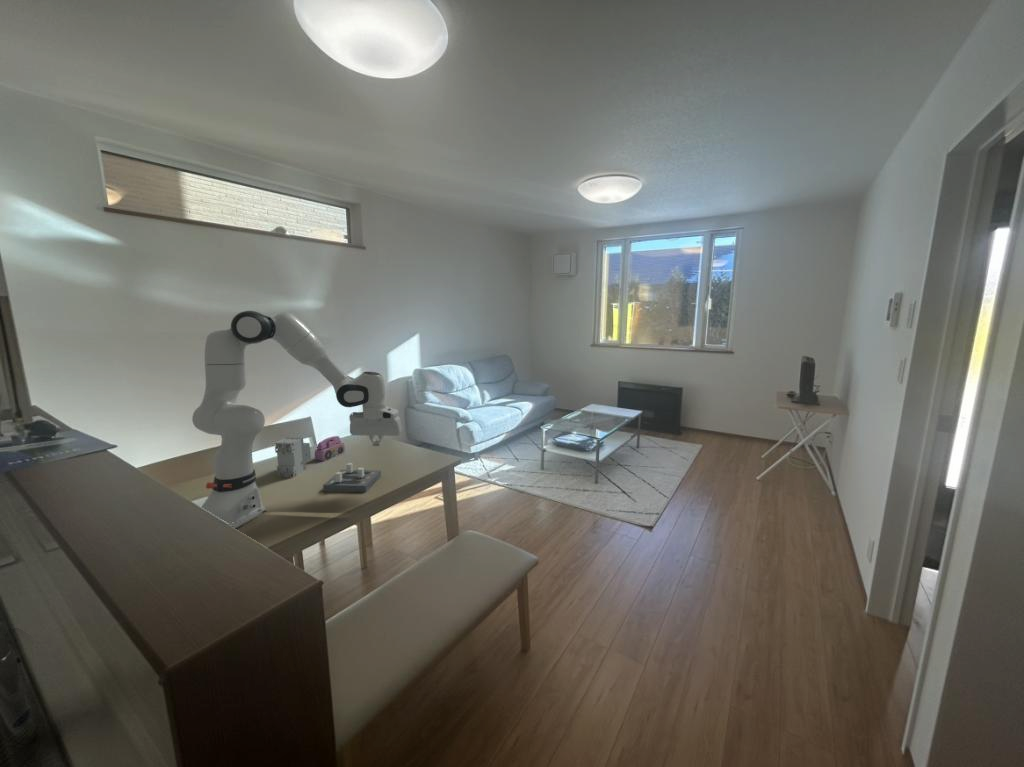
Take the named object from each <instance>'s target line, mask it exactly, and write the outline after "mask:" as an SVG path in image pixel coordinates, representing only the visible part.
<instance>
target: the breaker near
mask: <svg viewBox="0 0 1024 767" xmlns="http://www.w3.org/2000/svg"><path fill="white" fill-rule="evenodd" d="M334 476H335V480H336V482H341V481H342V472H340V471H336V472H335V473H334Z"/></svg>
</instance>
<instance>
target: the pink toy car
mask: <svg viewBox="0 0 1024 767" xmlns="http://www.w3.org/2000/svg"><path fill="white" fill-rule="evenodd" d="M345 448H346V446H345V444H344V442H342V441H341V438H340V436H339V435H334V436H330V437H327V438H325V439H323V440H321V441H319V442H318V444H317V446H316V449H315V451H314V458H315V459H314V460H315V461H321V462H326V461H328V460H331V459H332V458H335V457H338V456H340V455H339V454H341V455H342V453H343V454H344V453H346V451H345V450H346V449H345ZM337 455H338V456H337Z"/></svg>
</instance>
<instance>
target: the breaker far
mask: <svg viewBox="0 0 1024 767" xmlns="http://www.w3.org/2000/svg"><path fill="white" fill-rule="evenodd" d="M345 467H346V470H347V473H351V472H353V470H354V464H353V462H348V463H346V466H345Z"/></svg>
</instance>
